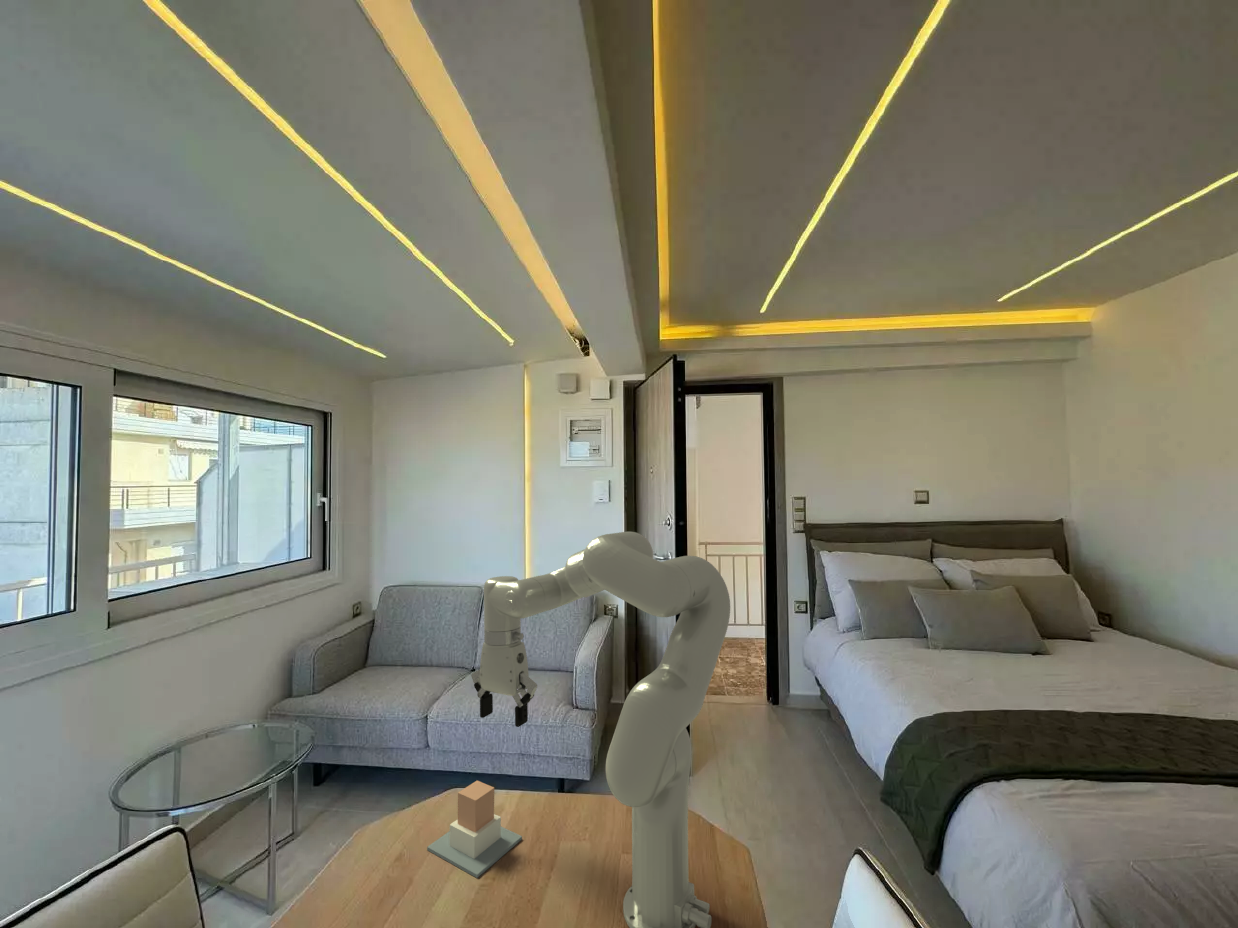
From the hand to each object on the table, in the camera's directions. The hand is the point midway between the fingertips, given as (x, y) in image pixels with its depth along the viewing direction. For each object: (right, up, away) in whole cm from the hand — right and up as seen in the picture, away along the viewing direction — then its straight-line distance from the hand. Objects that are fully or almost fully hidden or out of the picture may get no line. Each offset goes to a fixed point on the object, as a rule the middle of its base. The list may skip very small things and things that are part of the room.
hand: (503, 719), depth 105 cm
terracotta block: (-5, -18, -4) cm, 19 cm away
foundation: (-5, -23, -4) cm, 24 cm away
